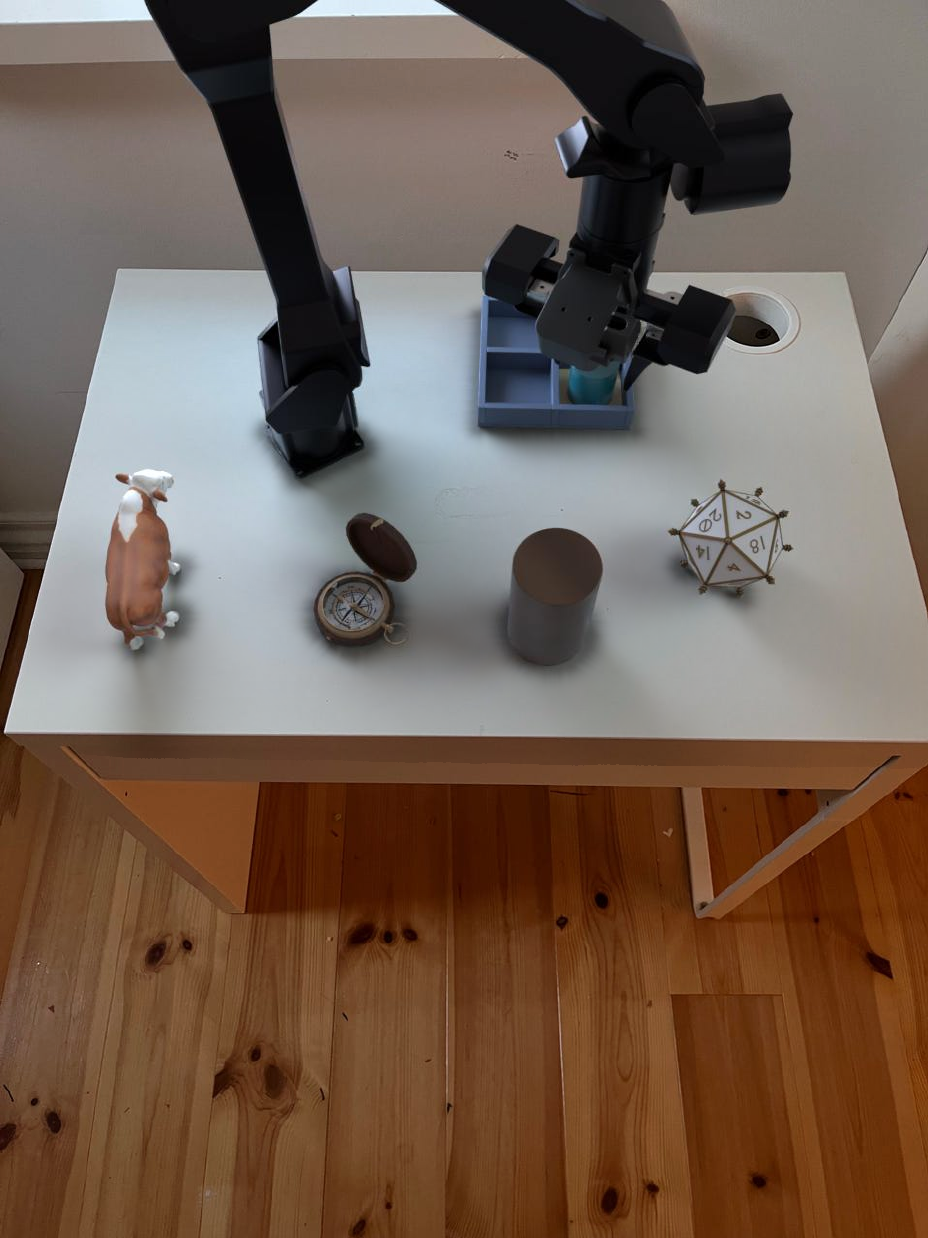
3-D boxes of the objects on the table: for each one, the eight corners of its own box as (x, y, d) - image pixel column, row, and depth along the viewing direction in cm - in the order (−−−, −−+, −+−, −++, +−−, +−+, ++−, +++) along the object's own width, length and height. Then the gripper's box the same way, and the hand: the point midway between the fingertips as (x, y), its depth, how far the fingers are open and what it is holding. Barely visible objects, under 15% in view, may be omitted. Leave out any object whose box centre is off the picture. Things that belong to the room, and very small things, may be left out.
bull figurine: (201, 514, 73) (171, 452, 66) (175, 665, 67) (139, 614, 59) (147, 514, 73) (111, 452, 66) (116, 665, 67) (73, 614, 59)
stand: (536, 679, 66) (545, 621, 57) (492, 618, 68) (495, 553, 60) (602, 640, 67) (621, 577, 59) (557, 581, 70) (568, 513, 61)
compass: (298, 622, 68) (279, 574, 62) (362, 549, 71) (350, 496, 65) (381, 677, 66) (371, 633, 60) (443, 599, 69) (440, 549, 63)
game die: (706, 611, 72) (695, 623, 63) (659, 517, 73) (641, 516, 64) (813, 561, 69) (818, 566, 60) (763, 464, 70) (760, 454, 61)
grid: (477, 426, 77) (478, 407, 75) (481, 315, 83) (482, 294, 80) (630, 429, 76) (634, 411, 74) (623, 317, 82) (627, 297, 80)
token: (584, 418, 76) (589, 385, 73) (557, 387, 78) (561, 354, 74) (622, 398, 77) (629, 365, 74) (595, 368, 79) (600, 335, 75)
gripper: (445, 244, 60) (450, 400, 74) (705, 339, 56) (659, 485, 70) (518, 148, 65) (510, 312, 79) (765, 230, 61) (710, 388, 75)
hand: (593, 374), depth 75 cm, fingers open, 6 cm apart
